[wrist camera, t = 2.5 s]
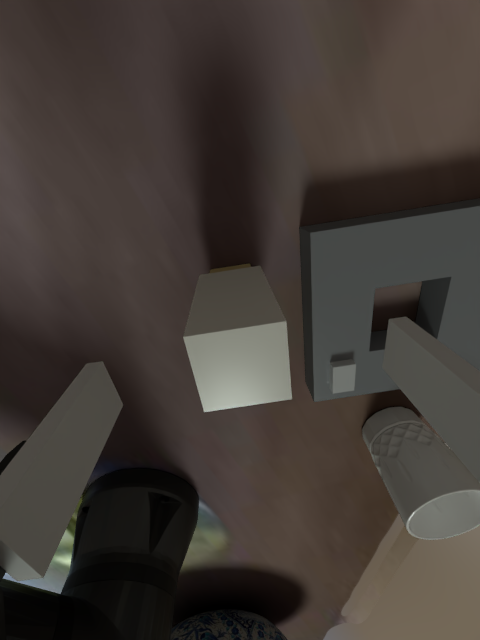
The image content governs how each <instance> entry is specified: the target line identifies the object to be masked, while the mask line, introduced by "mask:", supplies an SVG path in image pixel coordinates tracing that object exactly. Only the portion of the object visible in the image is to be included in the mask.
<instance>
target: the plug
mask: <svg viewBox="0 0 480 640" xmlns="http://www.w3.org/2000/svg"><path fill="white" fill-rule="evenodd" d="M183 338H184V342H185V345H186V349H187V352H188V356H189V359H190V363H191V367H192V370H193V374H194V377H195V381H196V384H197V388H198V391H199V395H200V399H201V402H202V406H203V409H204V412H209V411H216V410H223V409H229V408H236V407H243V406H249V405H256V404H262V403H269V402H276V401H282V400H289V399H292V394H291V380H290V366H289V352H288V338H287V324H286V320H285V317H284V315H283V313H282V311H281V309H280V307H279V305H278V302H277V300H276V298H275V296H274V294H273V292H272V290H271V288H270V285H269V283H268V281H267V279H266V277H265V275H264V273H263V271H262V268H261V266H254V267H251V265H250V263H249V264H243V265H236V266H230V267H224V268H217V269H211V270H210V273H209V274H203V275H199V279H198V283H197V287H196V290H195V294H194V298H193V302H192V306H191V309H190V313H189V317H188V321H187V325H186V328H185V332H184V336H183Z"/></svg>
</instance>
